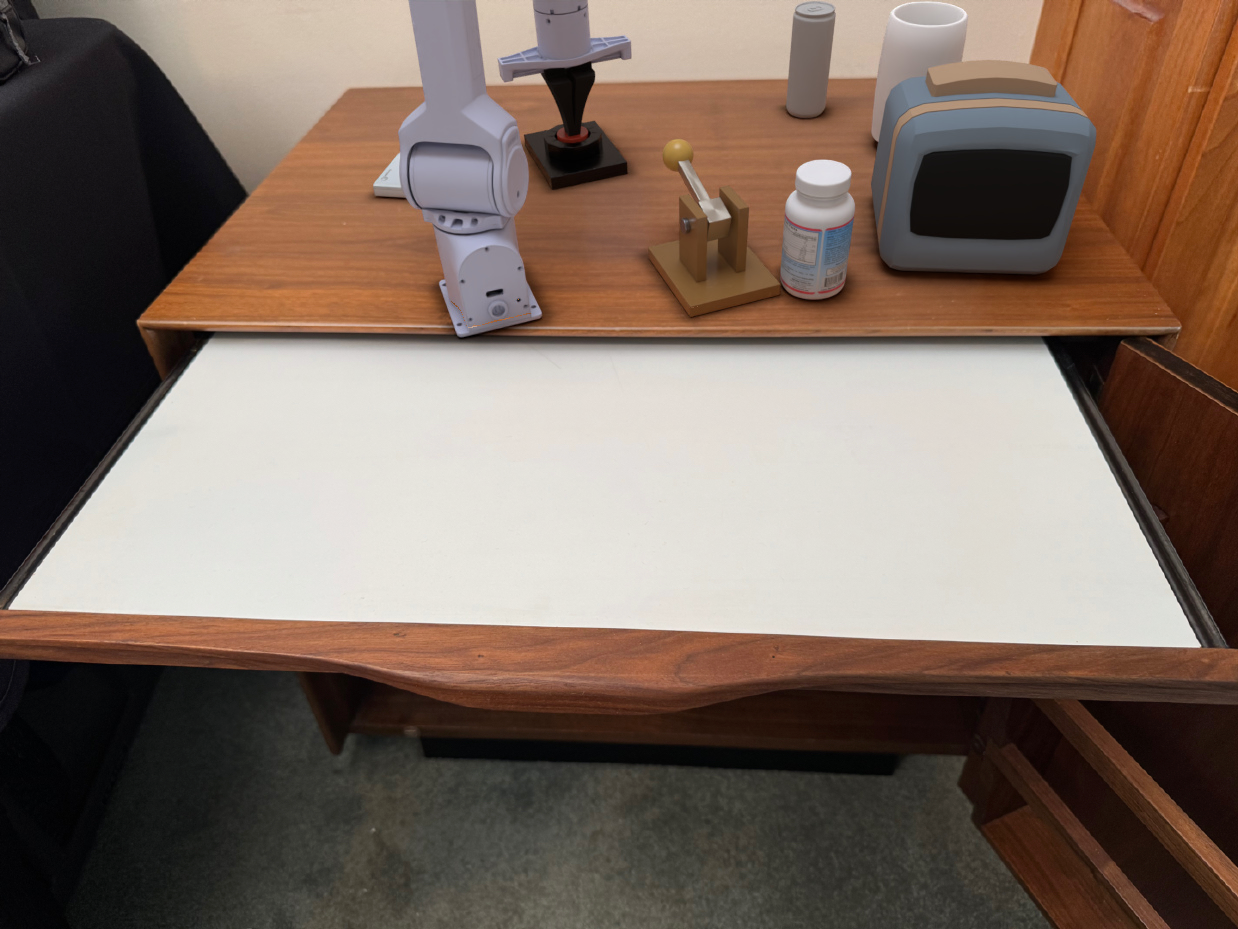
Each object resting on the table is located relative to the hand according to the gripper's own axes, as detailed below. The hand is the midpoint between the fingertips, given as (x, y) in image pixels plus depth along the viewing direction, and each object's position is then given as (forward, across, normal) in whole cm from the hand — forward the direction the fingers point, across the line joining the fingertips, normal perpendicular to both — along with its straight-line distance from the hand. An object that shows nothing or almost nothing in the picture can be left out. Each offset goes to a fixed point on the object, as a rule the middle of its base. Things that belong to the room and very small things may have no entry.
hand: (572, 132), depth 101 cm
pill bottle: (+3, -13, +34) cm, 37 cm away
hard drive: (+3, +16, -1) cm, 16 cm away
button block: (+3, 0, 0) cm, 3 cm away
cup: (+3, -36, +13) cm, 38 cm away
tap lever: (-3, -5, +24) cm, 25 cm away
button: (+2, 0, 0) cm, 2 cm away
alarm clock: (+3, -30, +32) cm, 44 cm away
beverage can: (+3, -30, 0) cm, 30 cm away
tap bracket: (+3, -5, +29) cm, 30 cm away
